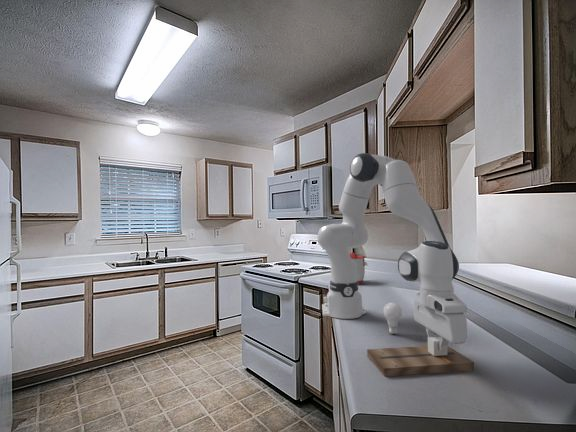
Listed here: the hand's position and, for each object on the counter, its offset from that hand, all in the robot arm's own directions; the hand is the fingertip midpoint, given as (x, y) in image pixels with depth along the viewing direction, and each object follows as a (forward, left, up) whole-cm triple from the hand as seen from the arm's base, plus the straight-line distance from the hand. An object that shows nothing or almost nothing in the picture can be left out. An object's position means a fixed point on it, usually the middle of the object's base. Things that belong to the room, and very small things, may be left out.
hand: (437, 347), depth 87 cm
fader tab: (0, 0, -2) cm, 2 cm away
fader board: (0, -6, -4) cm, 7 cm away
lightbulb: (-22, -3, -4) cm, 23 cm away
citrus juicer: (-111, +13, -4) cm, 112 cm away
